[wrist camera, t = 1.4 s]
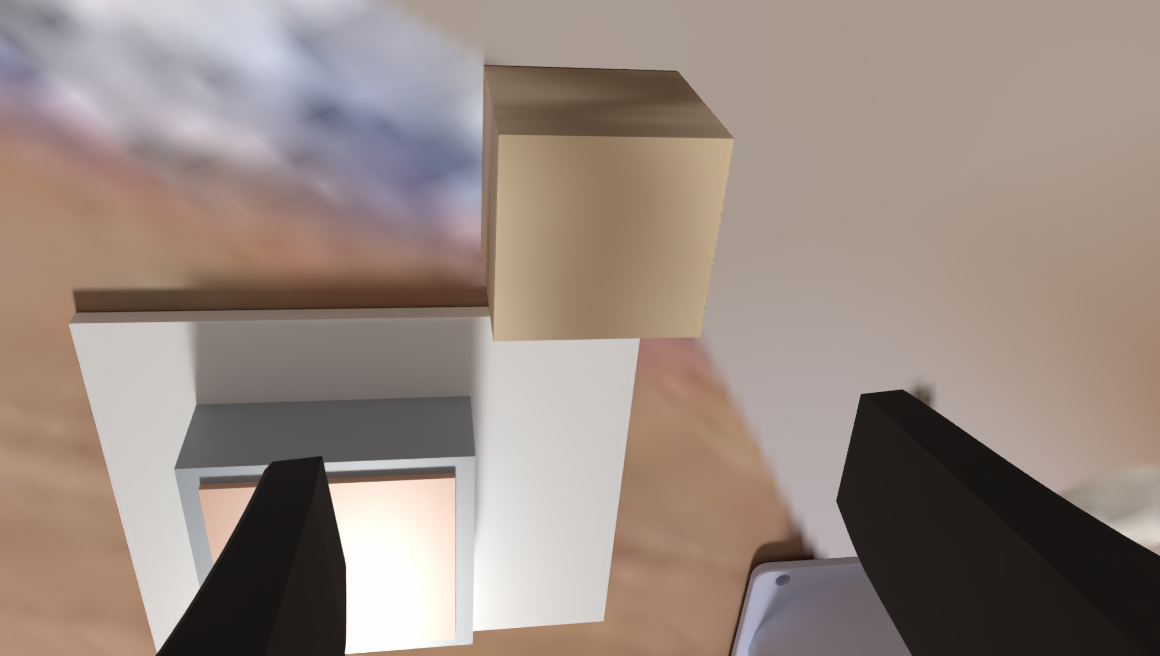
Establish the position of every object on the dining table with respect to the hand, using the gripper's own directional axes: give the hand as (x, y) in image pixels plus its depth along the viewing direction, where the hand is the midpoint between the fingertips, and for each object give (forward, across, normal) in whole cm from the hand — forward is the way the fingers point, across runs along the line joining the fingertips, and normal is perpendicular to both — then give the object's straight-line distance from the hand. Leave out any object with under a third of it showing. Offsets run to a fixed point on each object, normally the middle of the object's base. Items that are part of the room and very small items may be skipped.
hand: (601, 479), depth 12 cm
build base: (+11, +4, +10) cm, 15 cm away
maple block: (+11, -2, 0) cm, 11 cm away
